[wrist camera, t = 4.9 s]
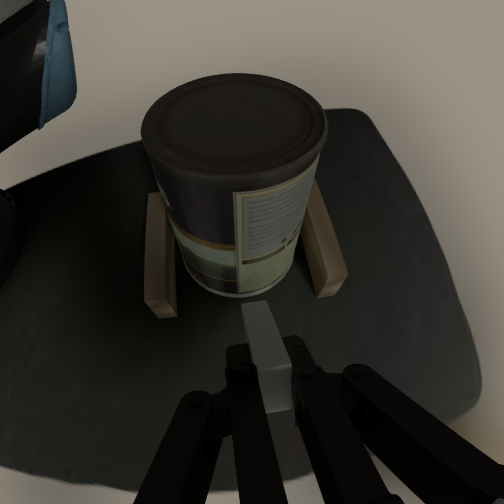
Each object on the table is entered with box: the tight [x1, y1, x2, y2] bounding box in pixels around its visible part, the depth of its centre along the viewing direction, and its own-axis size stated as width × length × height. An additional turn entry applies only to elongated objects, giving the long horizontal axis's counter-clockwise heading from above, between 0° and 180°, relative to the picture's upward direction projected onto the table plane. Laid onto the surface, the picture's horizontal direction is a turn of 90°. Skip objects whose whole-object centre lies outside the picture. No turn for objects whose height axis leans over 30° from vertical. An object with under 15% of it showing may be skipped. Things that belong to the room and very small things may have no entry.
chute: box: [144, 177, 348, 318], centre depth 25 cm, size 15×10×4 cm
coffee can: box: [141, 73, 328, 298], centre depth 21 cm, size 10×10×14 cm
